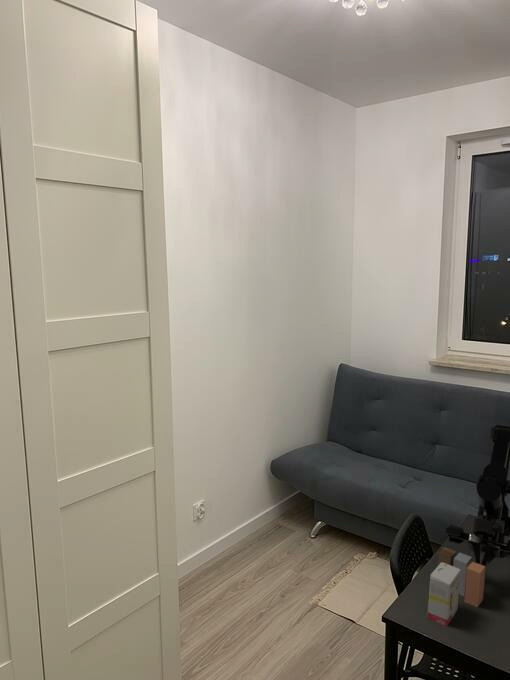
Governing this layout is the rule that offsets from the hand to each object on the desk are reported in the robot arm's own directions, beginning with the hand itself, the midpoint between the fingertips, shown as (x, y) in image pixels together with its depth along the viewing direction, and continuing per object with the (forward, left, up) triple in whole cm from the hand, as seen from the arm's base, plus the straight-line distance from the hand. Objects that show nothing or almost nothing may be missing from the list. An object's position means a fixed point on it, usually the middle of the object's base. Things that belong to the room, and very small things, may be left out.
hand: (479, 575), depth 130 cm
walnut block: (0, -8, -6) cm, 10 cm away
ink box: (+12, -4, -7) cm, 15 cm away
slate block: (0, -4, -6) cm, 7 cm away
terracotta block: (+2, 0, -6) cm, 6 cm away
